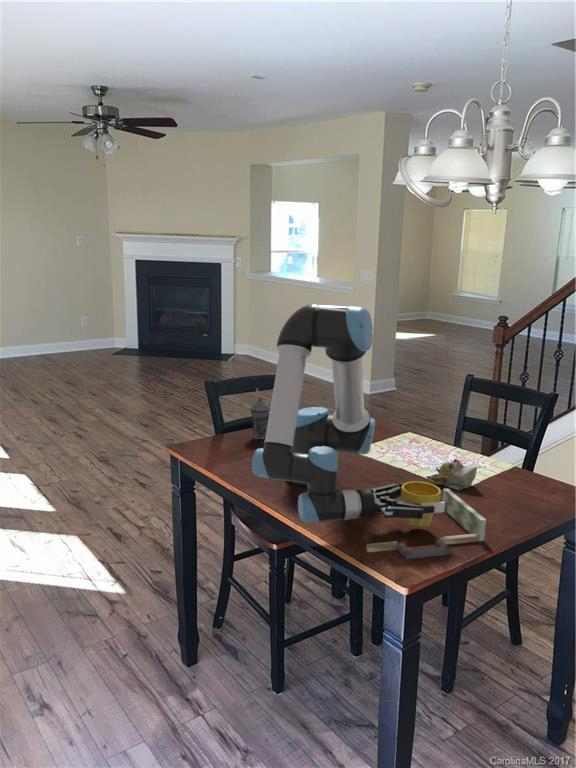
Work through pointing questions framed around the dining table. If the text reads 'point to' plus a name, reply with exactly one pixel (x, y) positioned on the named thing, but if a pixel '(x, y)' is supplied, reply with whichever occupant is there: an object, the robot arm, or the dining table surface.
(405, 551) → the trap bays
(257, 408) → the beverage cup
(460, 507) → the box
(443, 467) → the ceramic sculpture
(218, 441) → the dining table surface
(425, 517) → the plant pot
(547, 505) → the dining table surface
